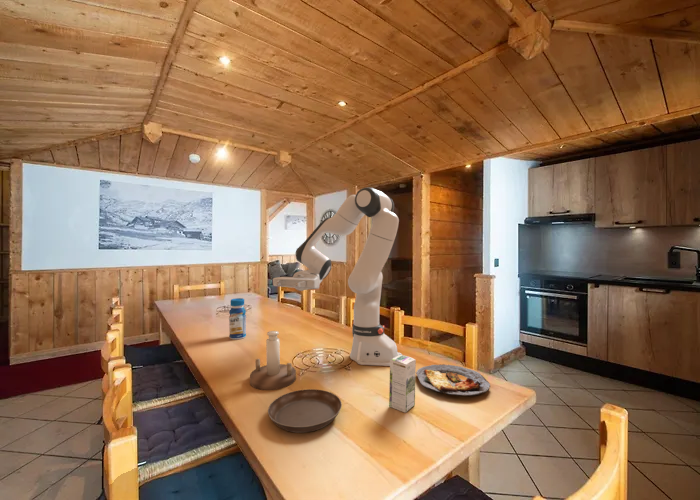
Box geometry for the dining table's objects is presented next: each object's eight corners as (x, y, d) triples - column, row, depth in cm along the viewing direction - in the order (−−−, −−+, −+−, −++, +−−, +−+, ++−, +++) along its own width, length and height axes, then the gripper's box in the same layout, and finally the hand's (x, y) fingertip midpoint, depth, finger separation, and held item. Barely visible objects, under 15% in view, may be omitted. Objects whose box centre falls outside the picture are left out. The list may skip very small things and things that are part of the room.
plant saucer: (254, 416, 89) (254, 404, 89) (311, 392, 104) (311, 382, 104) (296, 450, 74) (296, 436, 74) (356, 416, 89) (356, 405, 89)
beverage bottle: (249, 336, 164) (249, 298, 163) (236, 341, 157) (235, 301, 156) (239, 334, 168) (238, 297, 168) (225, 338, 161) (225, 299, 161)
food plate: (501, 401, 97) (501, 390, 97) (426, 401, 97) (426, 390, 97) (471, 370, 122) (471, 361, 122) (411, 370, 122) (411, 361, 122)
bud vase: (282, 371, 114) (281, 331, 113) (275, 376, 109) (275, 334, 109) (271, 369, 115) (270, 330, 115) (264, 374, 111) (263, 333, 111)
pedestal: (303, 373, 118) (303, 356, 117) (281, 393, 102) (281, 373, 102) (266, 368, 123) (266, 351, 122) (240, 386, 107) (240, 367, 107)
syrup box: (398, 399, 98) (398, 353, 98) (415, 405, 94) (415, 358, 94) (388, 407, 94) (389, 359, 93) (406, 413, 90) (406, 363, 89)
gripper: (282, 273, 146) (265, 276, 132) (322, 274, 139) (308, 277, 126) (282, 286, 146) (265, 290, 133) (322, 288, 139) (308, 293, 126)
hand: (286, 284), depth 129 cm, fingers open, 8 cm apart
